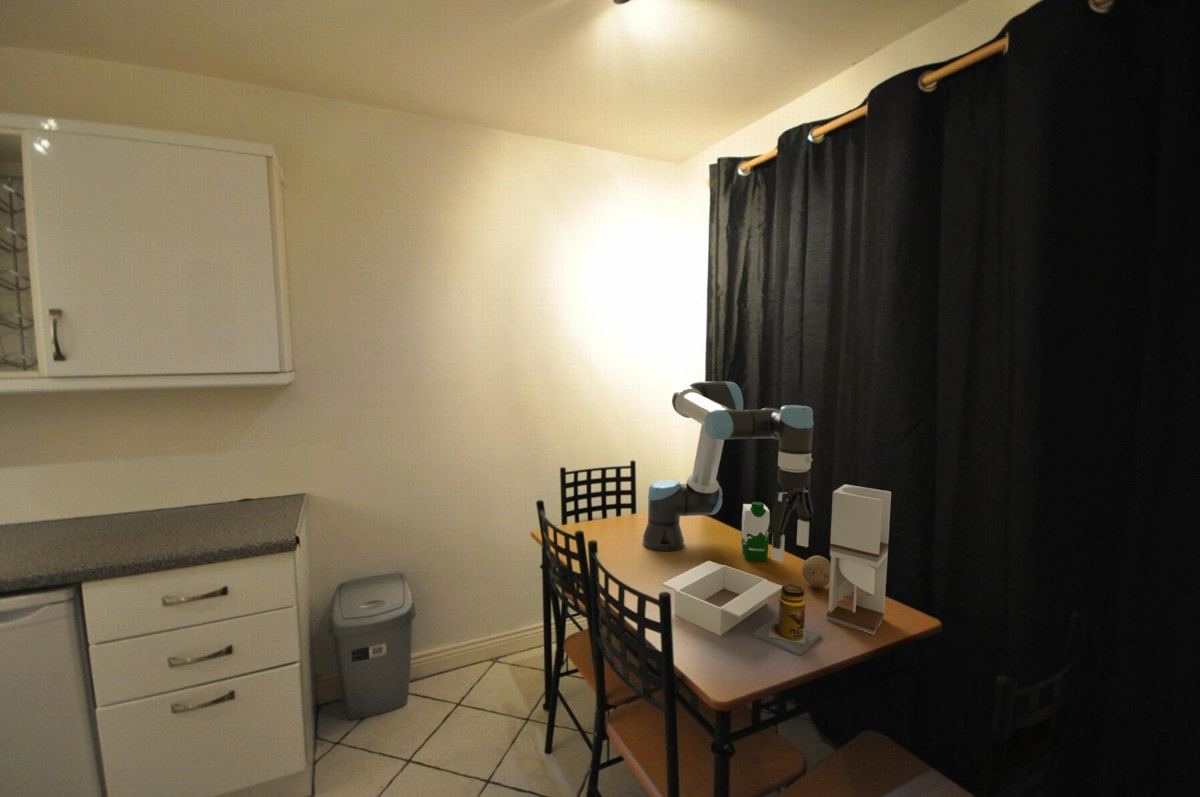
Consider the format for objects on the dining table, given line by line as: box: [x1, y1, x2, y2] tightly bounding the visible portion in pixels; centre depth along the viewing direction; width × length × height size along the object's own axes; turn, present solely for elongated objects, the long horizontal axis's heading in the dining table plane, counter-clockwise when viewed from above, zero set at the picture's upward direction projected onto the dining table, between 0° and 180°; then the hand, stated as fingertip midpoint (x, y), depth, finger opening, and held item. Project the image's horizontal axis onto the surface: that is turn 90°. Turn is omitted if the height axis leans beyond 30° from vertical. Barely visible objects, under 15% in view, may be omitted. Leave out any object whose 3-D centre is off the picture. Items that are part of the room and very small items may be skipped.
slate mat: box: [753, 615, 822, 656], centre depth 130 cm, size 12×12×1 cm
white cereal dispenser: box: [826, 483, 892, 633], centre depth 136 cm, size 11×11×35 cm
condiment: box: [769, 583, 806, 644], centre depth 129 cm, size 7×8×12 cm
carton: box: [661, 560, 783, 637], centre depth 143 cm, size 24×24×7 cm
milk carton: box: [741, 501, 771, 563], centre depth 179 cm, size 9×9×20 cm
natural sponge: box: [801, 555, 831, 589], centre depth 156 cm, size 9×9×10 cm
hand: (790, 552), depth 128 cm, fingers open, 13 cm apart
